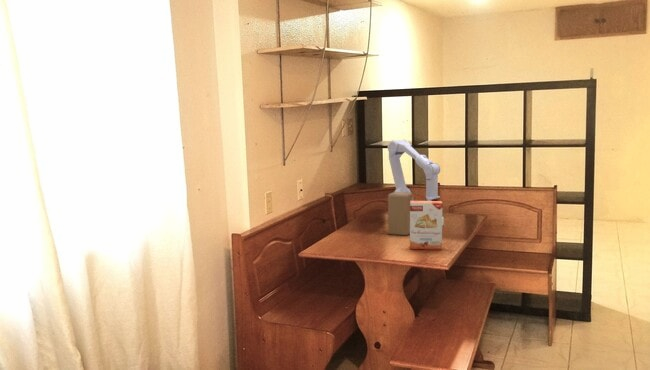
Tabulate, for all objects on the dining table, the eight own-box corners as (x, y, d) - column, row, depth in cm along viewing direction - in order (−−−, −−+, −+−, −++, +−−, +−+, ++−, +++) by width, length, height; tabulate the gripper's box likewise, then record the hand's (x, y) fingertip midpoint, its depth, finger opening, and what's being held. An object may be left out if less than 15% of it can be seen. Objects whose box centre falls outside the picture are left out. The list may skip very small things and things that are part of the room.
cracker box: (409, 249, 259) (409, 202, 256) (409, 246, 265) (409, 200, 262) (442, 250, 257) (442, 202, 254) (441, 246, 263) (442, 200, 260)
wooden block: (413, 231, 294) (413, 192, 291) (407, 236, 285) (407, 195, 282) (394, 230, 298) (393, 191, 295) (387, 234, 289) (387, 194, 286)
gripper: (437, 189, 291) (436, 217, 293) (442, 185, 305) (442, 211, 307) (422, 189, 294) (422, 216, 296) (428, 185, 307) (428, 210, 309)
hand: (431, 213), depth 302 cm, fingers closed
